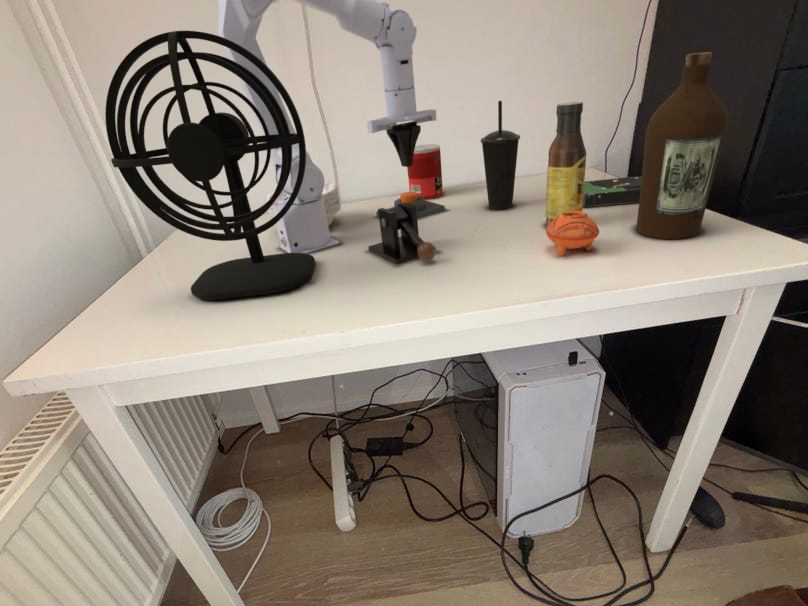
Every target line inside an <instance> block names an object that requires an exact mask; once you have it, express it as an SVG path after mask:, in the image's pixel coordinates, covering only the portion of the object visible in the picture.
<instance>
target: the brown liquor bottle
mask: <svg viewBox="0 0 808 606" xmlns="http://www.w3.org/2000/svg"><path fill="white" fill-rule="evenodd" d="M712 58H713V52H712V51H706V52H705V51H704V52H703V51H702V52H694V53H688V54H687V55H686V56H685V65H683V69H682V74H681V80H680V84H679V86H678V87H677V89H676V90H675V91H674V92H673V93H671V95H670V96H669V97H668V98H666V100H664V101H663V102H662V103H661V104H660V106H658V108H657V109H656V110H655V111H654V113H653V114H652V116H651V117H650V119H649V122H648V124H647V126H646V130H645V137H644V147H643V149H644V150H643V151H644V152H643V158H642V159H643V161H642V170H641V176H642V181H641V191H640V200H639V202H638V208H637V209H638V211H637V217H636V225H635V227H636V228H635V229H636V231H637V232H638V234H640V235H642V236H645V237H647V238H653V239H661V240H680V239H687V238H691V237H695V236H696V235H698V234H699V233H700V231H701V228H702V224H703V220H704V216H705V212H706V208H707V204H708V201H709V196H710V194H711V189H712V186H713V182H714V178H715V175H716V171H717V168H718V164H719V160H720V157H721V153H722V149H723V146H724V142H725V139H726V137H727V132H728V127H729V119H728V118H729V117H728V112H727V108H726V106H725V105H724V103H723V102H722V100H721V99H720V98H719V97H718V95H717V94H716V93H715V92H714V90H713V89H712V88H711V87H710V85H709V82H708V81H709V77H710V72H711V68H712V67H711V66H712V63H711V59H712Z"/></svg>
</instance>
